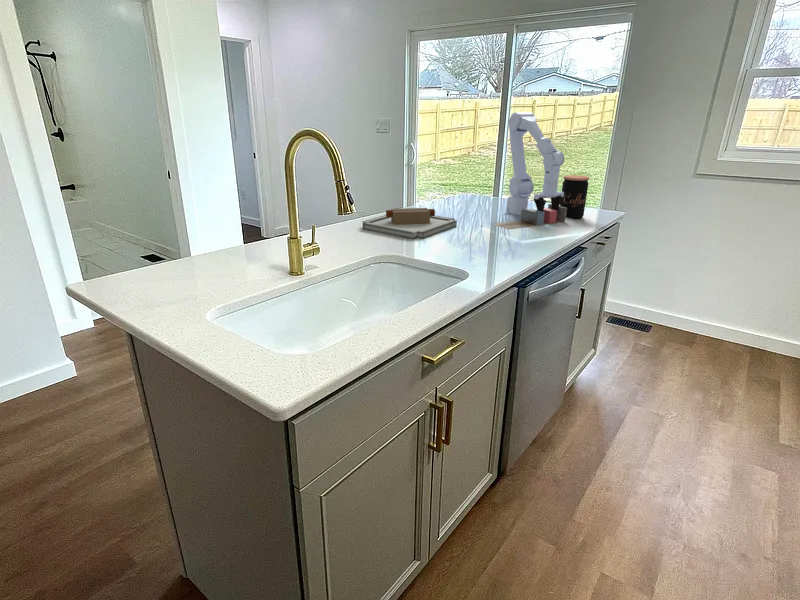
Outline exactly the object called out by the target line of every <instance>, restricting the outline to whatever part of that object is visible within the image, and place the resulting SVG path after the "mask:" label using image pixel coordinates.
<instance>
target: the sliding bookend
mask: <svg viewBox="0 0 800 600" xmlns="http://www.w3.org/2000/svg"><path fill="white" fill-rule="evenodd" d="M528 209H529V208H527V209H525V208H522V211H521V215H520V221H523V222H527V223H530V224H533V225H537V218H538V212H535V211H532V210H528Z"/></svg>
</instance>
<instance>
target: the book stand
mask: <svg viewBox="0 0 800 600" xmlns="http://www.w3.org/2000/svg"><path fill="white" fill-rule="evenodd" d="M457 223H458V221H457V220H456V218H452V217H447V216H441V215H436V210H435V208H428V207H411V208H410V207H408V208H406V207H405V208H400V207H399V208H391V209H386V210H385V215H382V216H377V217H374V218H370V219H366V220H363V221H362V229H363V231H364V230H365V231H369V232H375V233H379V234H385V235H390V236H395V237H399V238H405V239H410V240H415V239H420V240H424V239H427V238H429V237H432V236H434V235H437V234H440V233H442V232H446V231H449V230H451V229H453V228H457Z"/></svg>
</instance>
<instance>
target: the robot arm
mask: <svg viewBox="0 0 800 600" xmlns="http://www.w3.org/2000/svg"><path fill="white" fill-rule="evenodd" d="M537 121H538V120H537V117H536V116H535V114H534V113H533V112H532V111H531V112H516V111H515V112H513V113H512V114H511V116H509V119H508V129H509V130H508V131H509V145H510V151H511V159H512V162H511V163H512V170H513V171H512V172H513V175H512V177H511V178H510V179H509V187H508V188H509V189H508V190H509V194H510V195H509V196H508V197H507V201H506V207H505V209H506V210H505V214H511V215H514V216H521V211H522V208H525V209H529V208H528V207H529V197H530V196H531V194H532V193H533V192H534V187H535V186H534V183H533V181H532V177H531V175H529V174H528V173H527V165H526V157H525V149H524V147H525V146H524V135H526V134H527V133H529V134H530V135H531V137H532V138H533V139H534V140H535V142H536V149H537V151H538V152H539V153H540V155H541V156H542V164H543V170H544V176H543V184H542V191H541V192H538V193H534V196H533V202H534V203H535V207H536V210H539V211H542V212H543V210H544V207H545V206H546V203H547V200H546V199H550V204H551V209H553V210H556V211H557V209H558V207H559V206H560V204H561V202H562V201H563V198H562V197H564V192H562V191H558V184H559V180H560V179H559V178H560V177H559V176H560V170H561V169H560V168H561V166H562V165H563V164H564V161H565V155H564V153H563V152H562V151H559V150H557V148H556V147H555V145H554V144H553V142H552V139H550V138H549V137H545V135H544V134H543V132H542V130H541V128H540V127H539V124H538V123H537Z"/></svg>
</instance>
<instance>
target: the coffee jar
mask: <svg viewBox="0 0 800 600" xmlns="http://www.w3.org/2000/svg"><path fill="white" fill-rule="evenodd" d="M589 181H590V177H589V176H586V175H581V174H580V175H578V174H573V175H572V174H569V175H568V174H567V175H563V182H562V184H561V185H562V186H561V192H564V197H562V198H563V201H562V202H561V204H560V205H559V206H561V207H565V208H567V212H566V218H567V219H571V220H574V221H577V220H578V221H579V220H581V219H582V218H584V214H585V209H586V201H587V196H588V190H589Z"/></svg>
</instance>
